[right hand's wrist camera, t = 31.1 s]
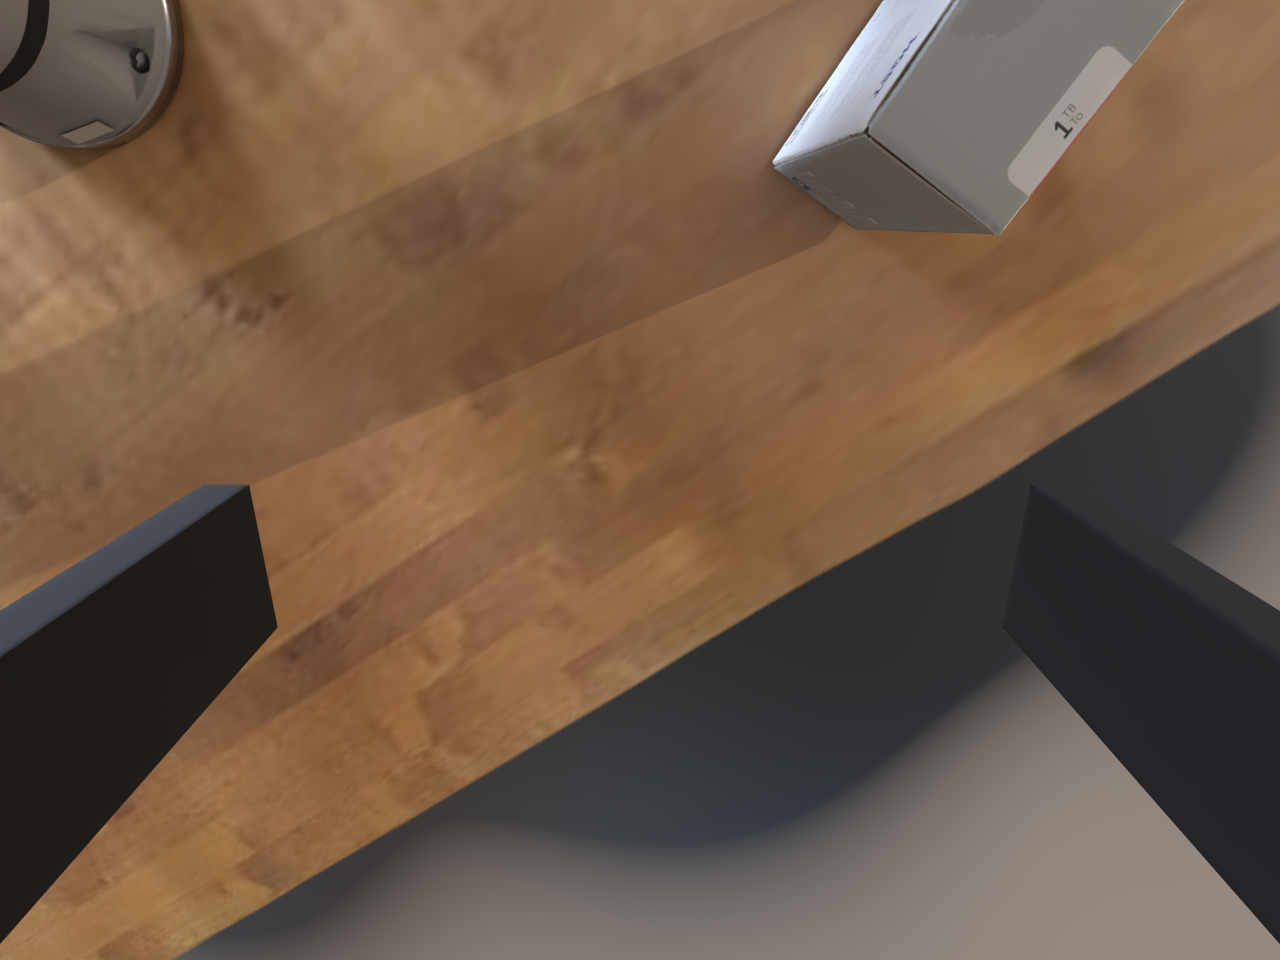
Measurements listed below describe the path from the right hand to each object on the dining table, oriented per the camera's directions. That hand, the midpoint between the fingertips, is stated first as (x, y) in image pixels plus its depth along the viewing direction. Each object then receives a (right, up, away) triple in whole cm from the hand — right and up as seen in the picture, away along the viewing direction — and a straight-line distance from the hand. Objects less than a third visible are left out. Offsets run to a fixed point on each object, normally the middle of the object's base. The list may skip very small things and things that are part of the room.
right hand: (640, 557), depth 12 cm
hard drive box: (+16, +26, +34) cm, 46 cm away
